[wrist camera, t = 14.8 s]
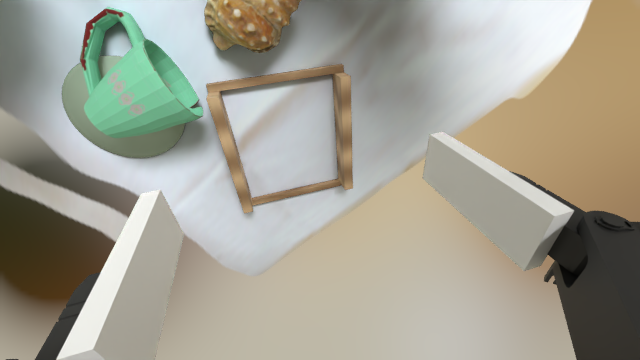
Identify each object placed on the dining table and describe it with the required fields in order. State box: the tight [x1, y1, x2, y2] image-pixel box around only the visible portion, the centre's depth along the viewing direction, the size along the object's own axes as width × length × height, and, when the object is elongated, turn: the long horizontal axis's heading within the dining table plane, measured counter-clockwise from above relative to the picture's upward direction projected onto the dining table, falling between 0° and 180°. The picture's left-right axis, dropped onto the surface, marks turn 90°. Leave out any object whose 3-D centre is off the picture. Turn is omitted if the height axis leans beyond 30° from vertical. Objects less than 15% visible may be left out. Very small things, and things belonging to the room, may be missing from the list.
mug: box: [80, 7, 203, 138], centre depth 31 cm, size 15×10×10 cm
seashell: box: [204, 0, 302, 53], centre depth 32 cm, size 9×8×10 cm
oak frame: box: [206, 64, 353, 213], centre depth 43 cm, size 22×20×4 cm
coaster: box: [62, 55, 185, 158], centre depth 36 cm, size 14×14×1 cm
